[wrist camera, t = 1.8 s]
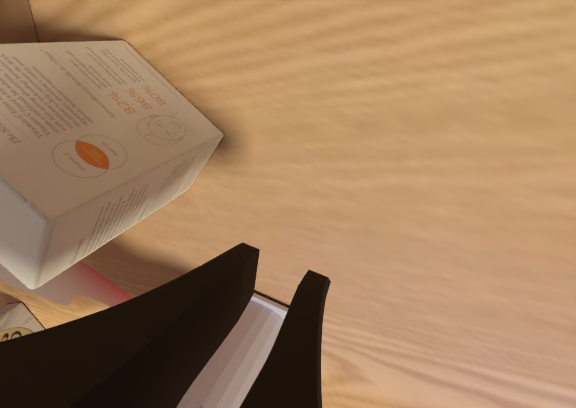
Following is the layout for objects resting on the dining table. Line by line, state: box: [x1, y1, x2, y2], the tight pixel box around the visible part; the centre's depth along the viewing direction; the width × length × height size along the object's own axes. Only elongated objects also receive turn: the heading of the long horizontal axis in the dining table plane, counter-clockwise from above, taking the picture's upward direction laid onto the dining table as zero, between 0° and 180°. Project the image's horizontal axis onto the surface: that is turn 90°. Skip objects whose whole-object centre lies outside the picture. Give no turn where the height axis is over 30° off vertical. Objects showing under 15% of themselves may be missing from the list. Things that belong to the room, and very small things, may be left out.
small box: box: [0, 40, 224, 289], centre depth 15 cm, size 8×6×10 cm
